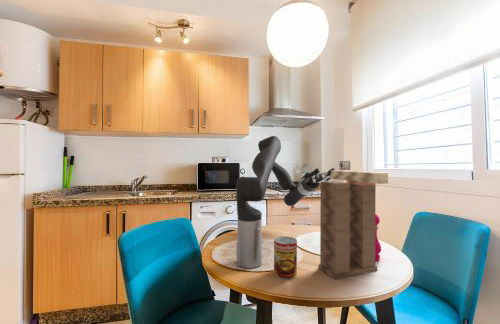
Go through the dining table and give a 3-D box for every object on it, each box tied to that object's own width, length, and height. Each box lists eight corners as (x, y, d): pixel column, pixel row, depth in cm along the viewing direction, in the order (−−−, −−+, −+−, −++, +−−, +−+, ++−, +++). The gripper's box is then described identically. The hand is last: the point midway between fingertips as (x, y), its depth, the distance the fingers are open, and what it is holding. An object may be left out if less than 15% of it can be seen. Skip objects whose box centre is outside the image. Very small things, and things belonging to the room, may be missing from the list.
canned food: (273, 278, 83) (273, 242, 83) (274, 268, 91) (274, 235, 91) (297, 280, 82) (297, 244, 82) (296, 269, 90) (296, 236, 89)
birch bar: (330, 178, 104) (330, 170, 104) (338, 178, 106) (338, 170, 106) (379, 183, 82) (379, 173, 82) (388, 183, 83) (388, 173, 83)
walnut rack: (318, 268, 91) (318, 181, 90) (358, 260, 98) (358, 180, 97) (335, 279, 82) (335, 183, 82) (377, 270, 89) (377, 181, 89)
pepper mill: (383, 262, 96) (384, 211, 96) (363, 261, 97) (364, 210, 97) (378, 255, 103) (378, 207, 103) (359, 254, 104) (359, 207, 104)
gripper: (293, 178, 122) (310, 162, 109) (317, 178, 127) (336, 162, 114) (297, 192, 119) (315, 177, 106) (322, 191, 124) (342, 177, 111)
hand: (326, 169), depth 110 cm, fingers open, 8 cm apart
